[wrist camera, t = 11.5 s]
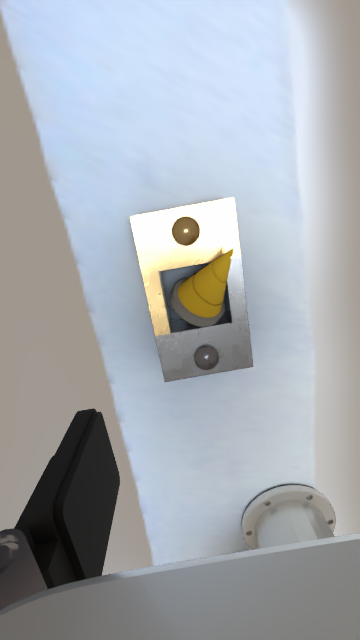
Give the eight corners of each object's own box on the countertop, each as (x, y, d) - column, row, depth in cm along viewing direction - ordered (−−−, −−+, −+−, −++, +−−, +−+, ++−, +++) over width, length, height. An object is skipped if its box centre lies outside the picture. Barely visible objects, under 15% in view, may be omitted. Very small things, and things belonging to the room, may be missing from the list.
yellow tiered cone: (160, 297, 32) (199, 219, 25) (204, 307, 34) (253, 237, 27) (160, 337, 29) (206, 262, 22) (210, 347, 31) (268, 279, 23)
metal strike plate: (243, 351, 34) (255, 369, 29) (165, 364, 34) (164, 385, 30) (225, 201, 29) (235, 196, 25) (134, 218, 29) (128, 216, 25)
